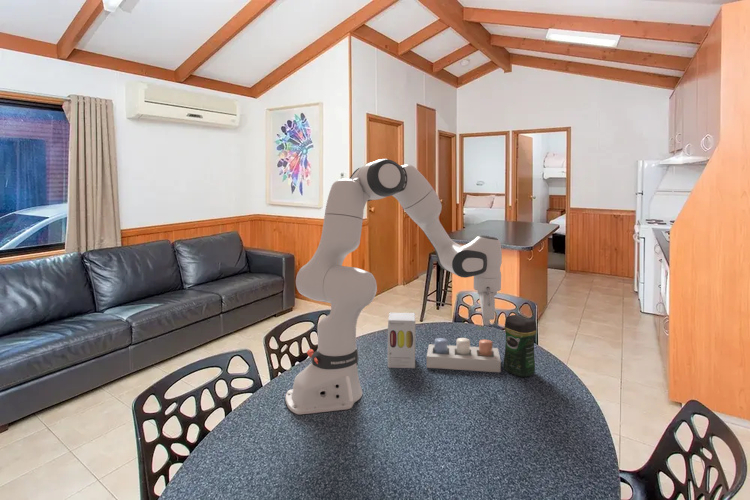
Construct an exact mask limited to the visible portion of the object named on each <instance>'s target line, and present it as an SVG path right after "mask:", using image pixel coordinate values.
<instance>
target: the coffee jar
mask: <svg viewBox="0 0 750 500" xmlns="http://www.w3.org/2000/svg"><path fill="white" fill-rule="evenodd" d="M504 332H505V346H504V347H505V348H504V354H503V355H504V356H503V365H502V366H503V367H502V368H503V369H504V371H506V372H507V373H510V374H512V375H514V376H517V377H521V378H523V377H531V376H533V375H534V374H535V372H536V361H535V359H536V358H535V337H536V333H537V322H536V321H535V320H534V319H531V318H527V317H523V316H521V315H517V314H511V315H508V316H506V318H505V320H504Z"/></svg>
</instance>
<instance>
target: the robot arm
mask: <svg viewBox="0 0 750 500" xmlns="http://www.w3.org/2000/svg"><path fill="white" fill-rule="evenodd" d="M327 196H328V197H327V200H326V206H325V210H324V218H323V225H322V230H321V237H320V240H319V244H318V246H317V248H316V250H315V252H314V254H313V256H312V257H311V259H309V260H308V262H306V264H304V265H302V267H300V268H299V270H298V271H297V274H296V278H295V287H296V290H297V291H298V293H299V294H300V295H302V296H304V297H305V298H307V299H309V300H312V301H317V302H322V303H328V304H330V313H329V314H328V315H326V316H324V317H322V319H321V320H320V321H319V322H318V324H317V327H316V328H317V330H316V331H317V349H316V350H315V351H314V349H312V348H309V349H307V351H306V354H307V355H308V357H309V358H310V359H311V363H309V365H307V366H306V367H305V368H304V369H302V370H301V371H300V372H299V373H298V374H297V375H296V376H295V378H294V380H293V386H292V389H288V391H286V393H285V398H284V399H285V404H286V405H287V408H288V409H289V410H290V411H291V412H292V413H294V414H295V415H307V414H317V413H327V412H335V411H343V410H344V411H345V410H350V409H352V408H353V406H354V405H355V403H356V402H357V401H359V400H360V399H361V398H362V396H363V389H362V387H361V383H360V379H359V378H360V377H359V372H358V366H359V352H358V347H357V324H358V319H359V317H360V315H361V313H362V311H363V310H364V309H365V308H367V306H369V305H370V304H372V302H373V300H374V299H375V297H376V294H377V292H378V285H377V280H376V278H375V276H374V275H373V273H371V272H370V271H367V270H364V269H362V268H358V267H354V266H347V265H346V266H344V265H343V262H344V261H345V259H346V257H347V256H348V255H349V254H350V253H353V252H354V251H356V250H357V249H358V248H359V246H360V244H361V236H362V229H363V220H364V211H365V206H366V204H367V202H369V201H373V200H374V201H375V200H376V201H377V200H382V199H385V198H387V197H390V196H391V197H393V198H395V199H396V200H397V202H398V203H399V205H400V206H401V208H402V209H403V211H404V212H405V213H406V214H407V216H409V218H410V219H411V220H412V221H413V222H414V223H415V224H416V225H417V226H418V227H419V228H420V229H421V230H422V231H423V233H424V235H425V236H426V238H427V240H429V242H430V244H431V245H432V247H433V248H434V251H435V255H436V260H437V263H438V266H440V268H442V270H445V271H447V272H450V273H452V274H453V275H456V276H457V277H460V278H470V277H473V289H474V290H475V291H477V292H476V293H477V295H478V298H479V300H478V301H479V304H480V311H481V314H482V319H483V321H482V322H483V325H484V326H490V321H491V320H495V317H496V314H495V313H496V305H495V304H496V297H495V296H497V295H498V292H500V291H501V290H502V272H501V267H502V262H503V261H502V259H503V258H502V257H503V256H502V255H503V254H502V253H503V252H502V244H501V241H500V240H499V238H497V237H495V236H494V237H493V236H489V235H485V234H484V235H483V234H481V235H477V236H476V237H475V238H474V239H473V240H471V241H470V242H468V243H467V244H464V245H461V244H460V243H457V242H455V241H454V240H453V239H451V237H450V236H449V234H448V233H447V231H446V229H445V228H444V226H443V225H442V223H441V221H440V219H439V217H440V214H441V212H442V209H443V208H442V207H443V206H442V204H443V203H442V202H441V200H440V198H439V195H438V194H437V192H436V191H435V189H434V188H433V186H432V185H431V183H430V182H429V181H428V180H427V178H425V176H424V175H423V174H422V173H421V172H420V171H419V170H418V169H417V167H415V166H414V165H411V164H408V163H407V164H402V165H400V164H399V163H397V162H396V161H394V160H392V159H389V158H382V159H381V158H380V159H377V160H375V161H371V162H367V163H365V164H364V165H361V166H360V167H358V168H356V169H355V170H354V172H353V173H352V174H351V175H350V176H349V178H340V179H337V180H335V181H334V182H333V183H332V185H331V187H330V191H329V193H328V195H327Z"/></svg>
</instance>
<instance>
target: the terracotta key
mask: <svg viewBox="0 0 750 500" xmlns="http://www.w3.org/2000/svg"><path fill="white" fill-rule="evenodd" d="M493 344H494V342H493V341H492V340H490V339H480V340H479V341H478V347H479V354H481V355H485V356H489V355H492V348H493Z"/></svg>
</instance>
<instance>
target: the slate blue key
mask: <svg viewBox="0 0 750 500" xmlns="http://www.w3.org/2000/svg"><path fill="white" fill-rule="evenodd" d="M433 345H434V351H435V353H438V354H445V353H447V345H448V339H447V338H444V337H436V338H435V339H434V344H433Z"/></svg>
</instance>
